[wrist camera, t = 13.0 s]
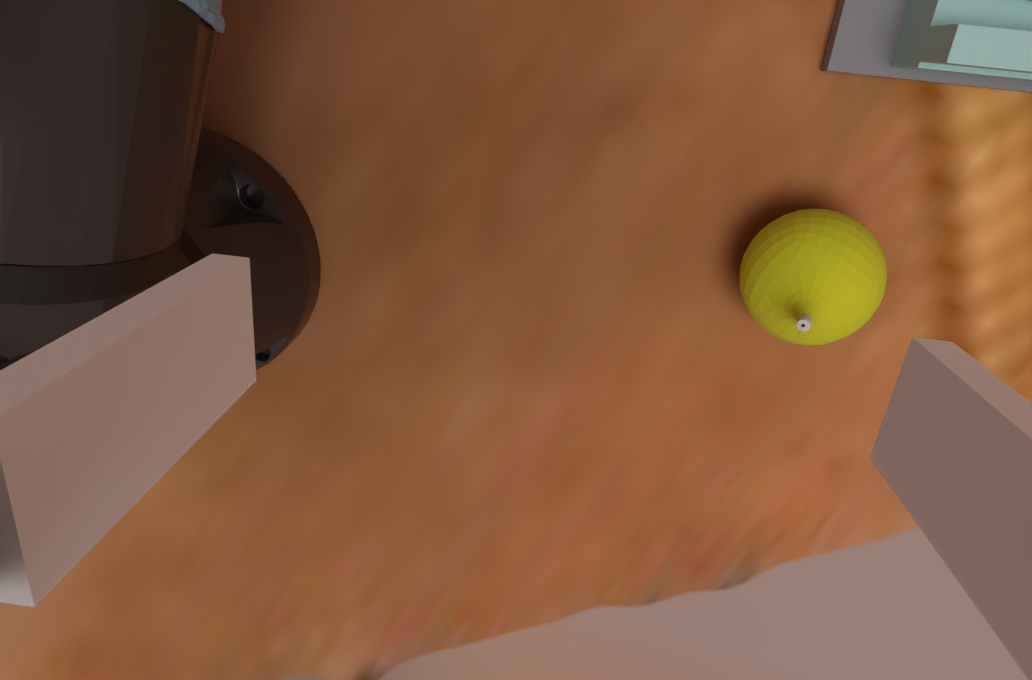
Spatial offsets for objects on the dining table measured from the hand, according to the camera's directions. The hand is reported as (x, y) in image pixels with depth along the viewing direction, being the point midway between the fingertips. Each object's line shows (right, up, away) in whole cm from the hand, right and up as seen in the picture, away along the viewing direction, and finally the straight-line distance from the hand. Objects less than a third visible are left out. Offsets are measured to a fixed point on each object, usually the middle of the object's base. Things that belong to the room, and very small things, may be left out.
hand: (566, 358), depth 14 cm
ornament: (+15, +5, +26) cm, 30 cm away
